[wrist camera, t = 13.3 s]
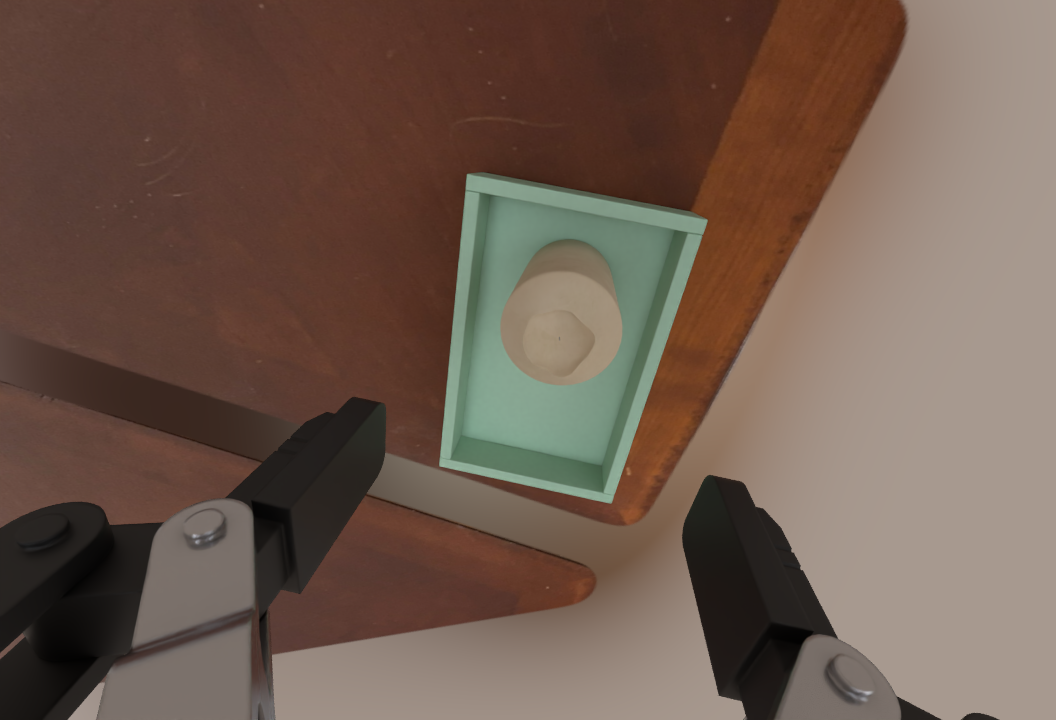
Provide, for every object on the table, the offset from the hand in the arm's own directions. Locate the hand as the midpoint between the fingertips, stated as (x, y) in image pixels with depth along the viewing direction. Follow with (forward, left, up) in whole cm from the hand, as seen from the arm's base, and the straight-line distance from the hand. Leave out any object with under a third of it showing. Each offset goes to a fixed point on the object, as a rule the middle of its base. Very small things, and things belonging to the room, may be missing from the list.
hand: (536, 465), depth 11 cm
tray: (+5, 0, -19) cm, 19 cm away
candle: (0, 0, -18) cm, 18 cm away
